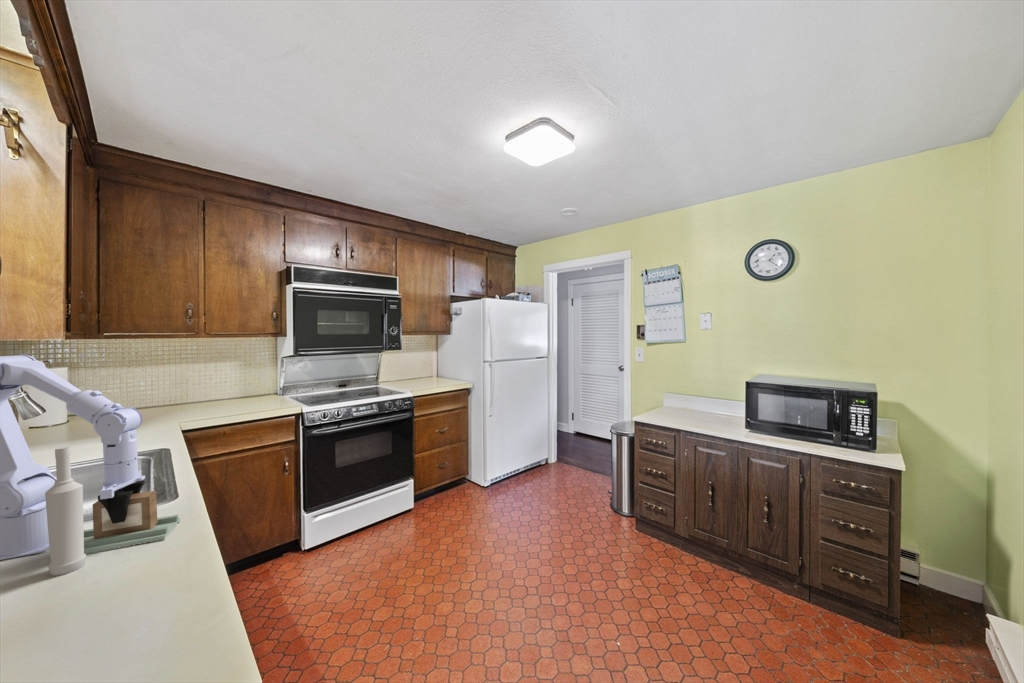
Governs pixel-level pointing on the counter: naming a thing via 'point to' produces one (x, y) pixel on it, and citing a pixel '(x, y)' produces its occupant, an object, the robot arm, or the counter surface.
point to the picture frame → (137, 518)
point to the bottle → (65, 518)
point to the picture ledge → (130, 536)
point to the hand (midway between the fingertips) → (123, 518)
